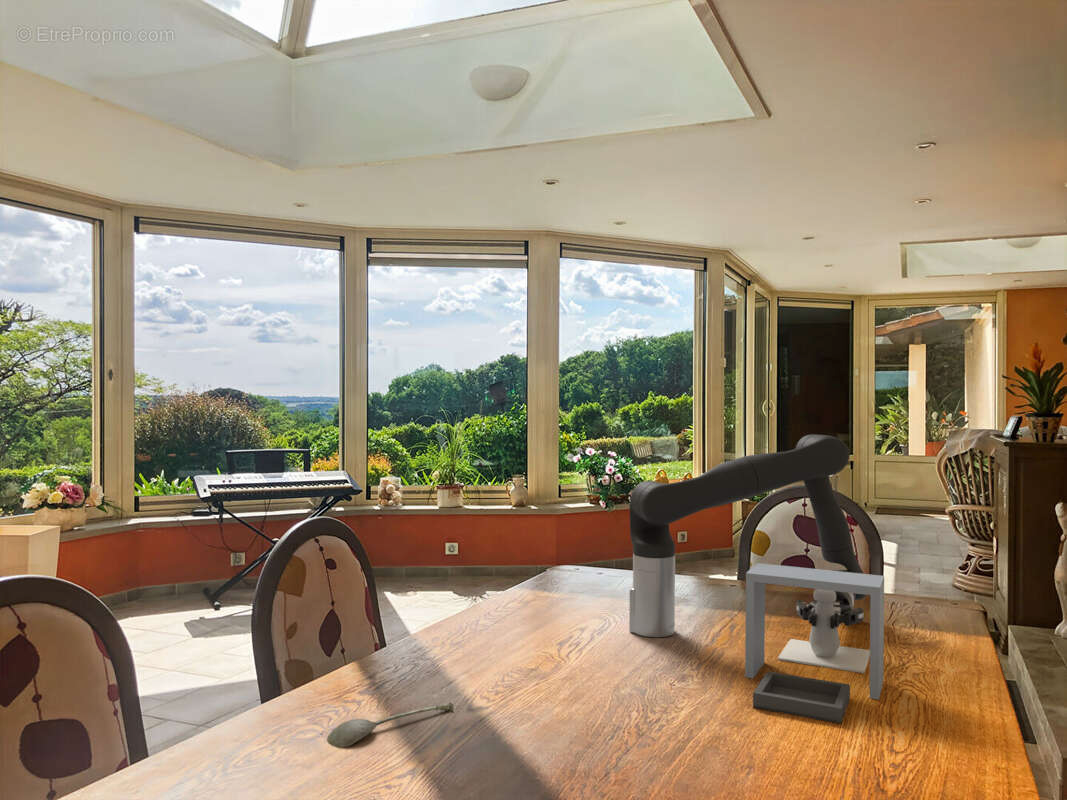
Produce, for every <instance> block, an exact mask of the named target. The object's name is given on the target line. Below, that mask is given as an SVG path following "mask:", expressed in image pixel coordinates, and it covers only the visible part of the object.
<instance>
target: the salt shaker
mask: <svg viewBox="0 0 1067 800" xmlns="http://www.w3.org/2000/svg"><path fill="white" fill-rule="evenodd" d="M812 597H813V601H814V600H816V601H817V604H816V609H815V614H816V626H812V625H811V629H810V633H809V637H808V640H809V642H810V644H811V647H812V650H813V652H814V654H817V655H819V656H827V657H831V656H834V655H835V654H836V652H837V650H838V648H839V646H841V641H840V635H839V629H838V627H835V629H831V628H830V619H831V616H832V615H835V611H834V606H833V602H835V601H836V593H835V591H830V590H821V589H813V596H812Z"/></svg>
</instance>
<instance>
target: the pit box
mask: <svg viewBox="0 0 1067 800" xmlns="http://www.w3.org/2000/svg"><path fill="white" fill-rule="evenodd" d="M850 692H851V684H848V683H843V682H836V681H832V680H831V681H830V680H824V679H818V678H812V677H807V676H806V677H805V676H799V675H793V674H787V673H781V672H777V671H775V672H774V671H766V673H765V674H764V676H763V677H762V678H761V681H760V682H759V683H758V684H757V687H756V688H755V689H754V691H753V692H752V709H753V708H754V709H759V710H763V711H769V712H773V713H774V712H776V713H781V714H785V715H790V716H791V715H792V716H796V717H797V716H798V717H801V718H807V719H813V720H816V721H817V720H819V721H825V722H829V723H835V724H840V725H842V723H843V720H844V717H845V714H846V711H847V708H848V706H849V702H850V698H851V693H850Z"/></svg>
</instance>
